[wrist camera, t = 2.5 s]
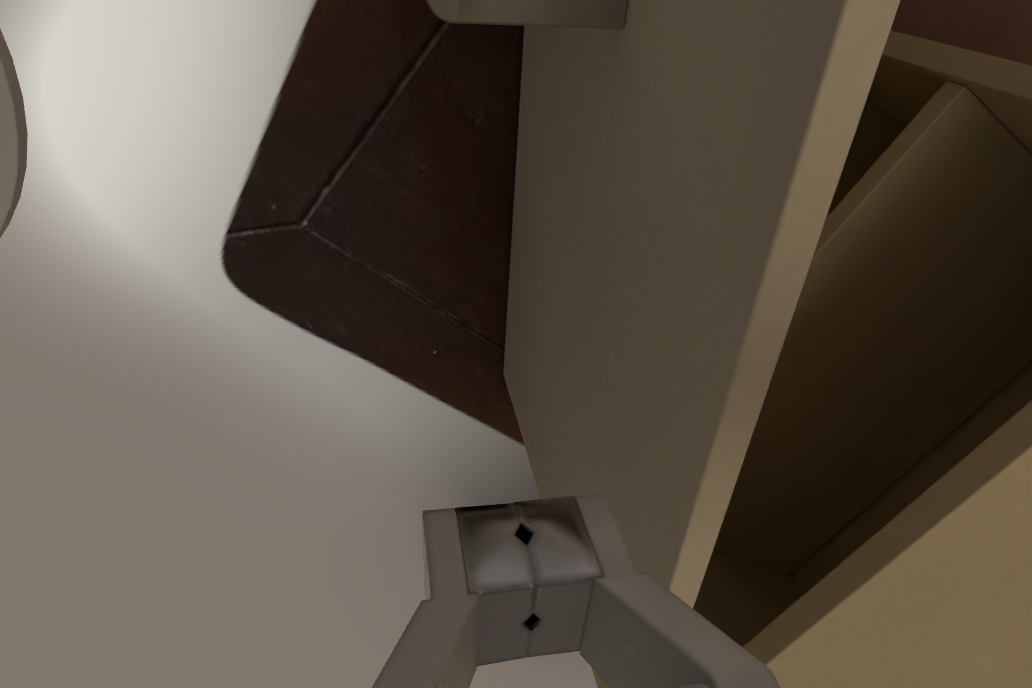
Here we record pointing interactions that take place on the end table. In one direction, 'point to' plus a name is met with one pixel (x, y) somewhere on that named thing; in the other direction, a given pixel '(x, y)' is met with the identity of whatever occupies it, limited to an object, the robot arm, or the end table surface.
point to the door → (667, 239)
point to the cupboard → (901, 405)
